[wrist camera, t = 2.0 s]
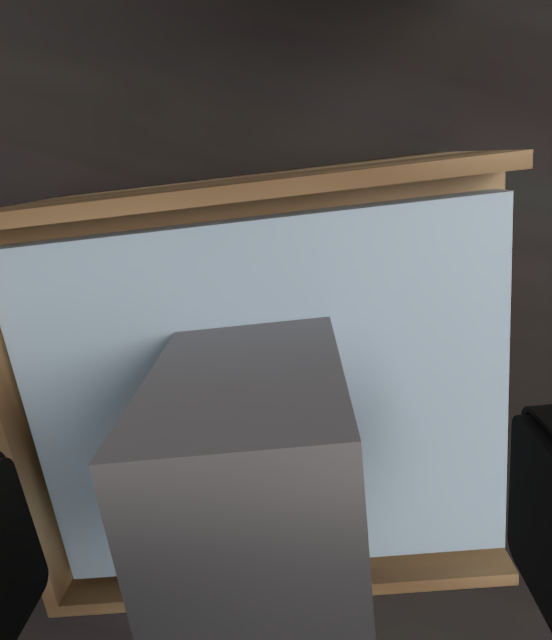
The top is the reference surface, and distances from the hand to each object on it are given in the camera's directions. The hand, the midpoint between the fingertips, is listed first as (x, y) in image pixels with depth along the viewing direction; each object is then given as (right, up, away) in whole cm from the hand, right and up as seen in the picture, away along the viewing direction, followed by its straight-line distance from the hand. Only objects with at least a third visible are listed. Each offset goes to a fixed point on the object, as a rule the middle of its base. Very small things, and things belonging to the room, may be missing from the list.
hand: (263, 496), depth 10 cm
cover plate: (0, +1, +5) cm, 5 cm away
